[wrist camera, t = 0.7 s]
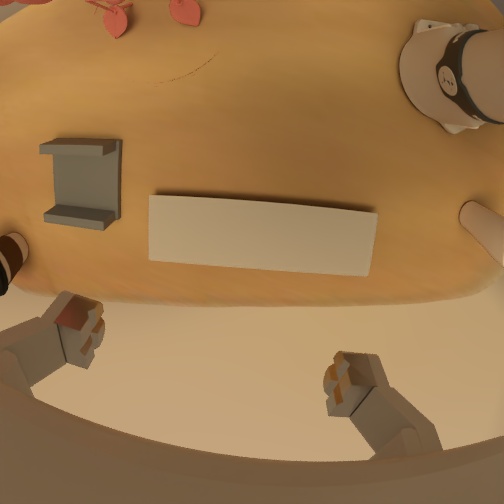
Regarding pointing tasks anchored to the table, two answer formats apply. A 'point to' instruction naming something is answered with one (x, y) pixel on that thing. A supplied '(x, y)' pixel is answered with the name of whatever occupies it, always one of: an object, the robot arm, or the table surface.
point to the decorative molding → (260, 235)
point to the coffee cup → (11, 258)
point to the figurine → (117, 20)
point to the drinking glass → (485, 228)
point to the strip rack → (85, 182)
